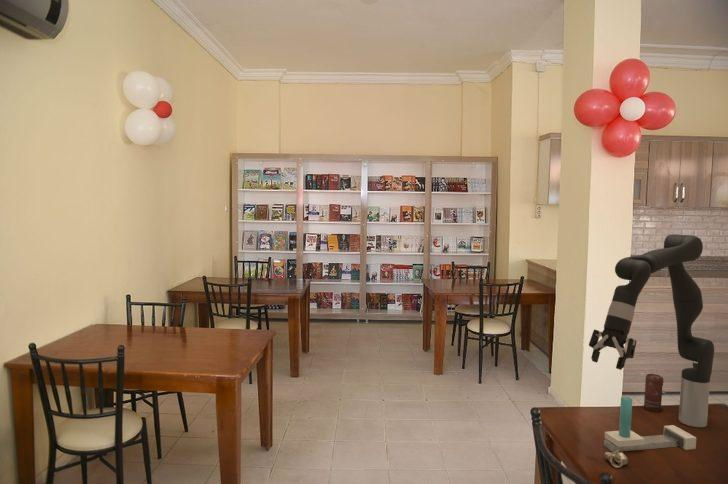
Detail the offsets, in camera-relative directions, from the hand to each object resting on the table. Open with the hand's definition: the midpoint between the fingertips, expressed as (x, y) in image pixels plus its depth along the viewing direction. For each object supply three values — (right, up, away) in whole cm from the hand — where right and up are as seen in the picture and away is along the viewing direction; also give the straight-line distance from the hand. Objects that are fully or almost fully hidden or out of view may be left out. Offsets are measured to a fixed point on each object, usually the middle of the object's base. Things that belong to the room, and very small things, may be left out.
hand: (606, 365), depth 166 cm
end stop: (+33, -31, +15) cm, 47 cm away
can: (+40, -29, +44) cm, 66 cm away
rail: (+18, -31, +12) cm, 37 cm away
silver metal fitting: (+3, -32, +1) cm, 32 cm away
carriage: (+11, -29, +11) cm, 32 cm away
